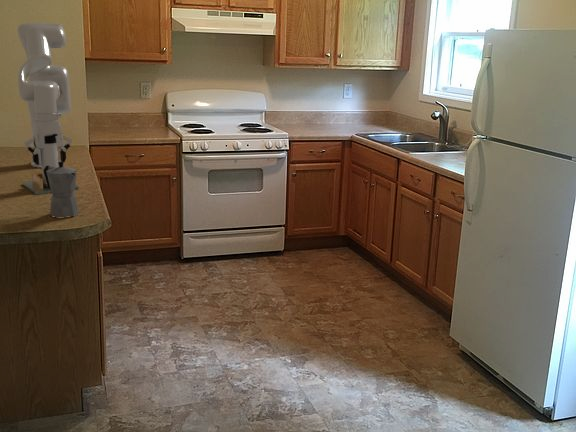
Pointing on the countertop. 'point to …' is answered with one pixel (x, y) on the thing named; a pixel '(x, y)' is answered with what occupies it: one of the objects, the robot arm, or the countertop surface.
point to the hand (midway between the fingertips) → (50, 162)
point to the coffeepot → (62, 190)
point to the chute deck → (38, 185)
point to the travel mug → (49, 155)
